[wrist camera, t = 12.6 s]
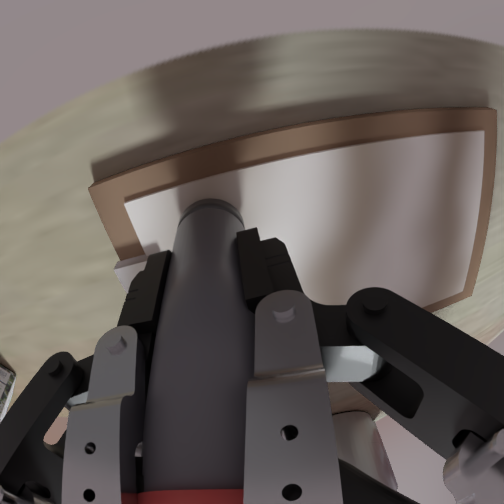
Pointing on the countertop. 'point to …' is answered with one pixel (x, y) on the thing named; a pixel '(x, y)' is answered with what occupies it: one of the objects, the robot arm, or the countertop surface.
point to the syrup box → (5, 389)
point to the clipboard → (332, 200)
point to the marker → (200, 366)
